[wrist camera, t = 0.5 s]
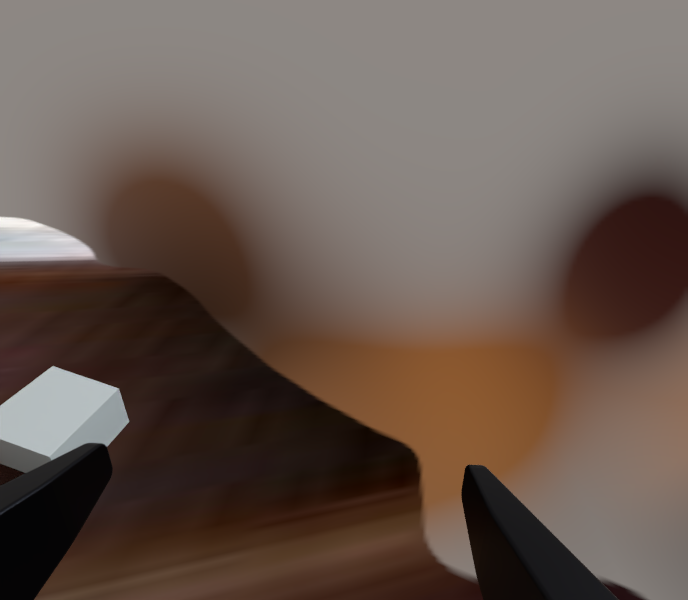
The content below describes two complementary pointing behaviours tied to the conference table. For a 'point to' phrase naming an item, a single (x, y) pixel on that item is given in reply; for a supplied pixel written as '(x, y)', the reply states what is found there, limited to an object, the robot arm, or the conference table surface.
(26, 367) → the conference table surface
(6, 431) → the grey block
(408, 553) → the conference table surface
